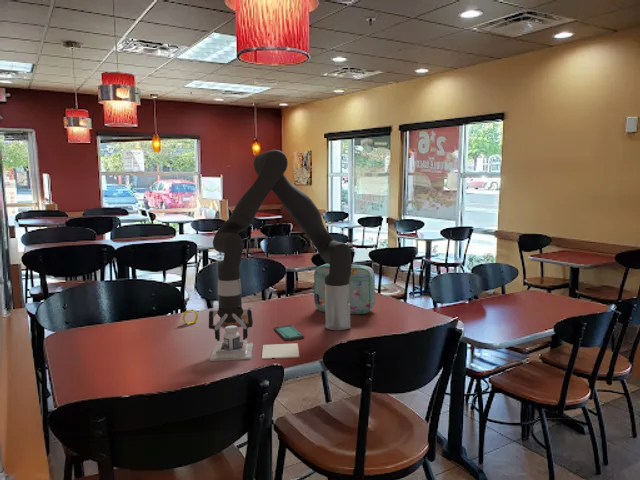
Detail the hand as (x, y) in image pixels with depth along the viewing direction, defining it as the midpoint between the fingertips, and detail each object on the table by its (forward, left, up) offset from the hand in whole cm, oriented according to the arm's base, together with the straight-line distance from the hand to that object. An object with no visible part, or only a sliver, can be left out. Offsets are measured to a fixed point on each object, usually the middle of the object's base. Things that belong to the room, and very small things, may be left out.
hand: (231, 339), depth 161 cm
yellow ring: (+20, -35, -5) cm, 41 cm away
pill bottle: (0, 0, -5) cm, 5 cm away
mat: (-16, +1, -5) cm, 17 cm away
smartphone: (-19, -17, -5) cm, 26 cm away
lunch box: (-43, -43, -5) cm, 61 cm away
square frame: (0, 0, -5) cm, 5 cm away
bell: (+2, -34, -5) cm, 34 cm away
